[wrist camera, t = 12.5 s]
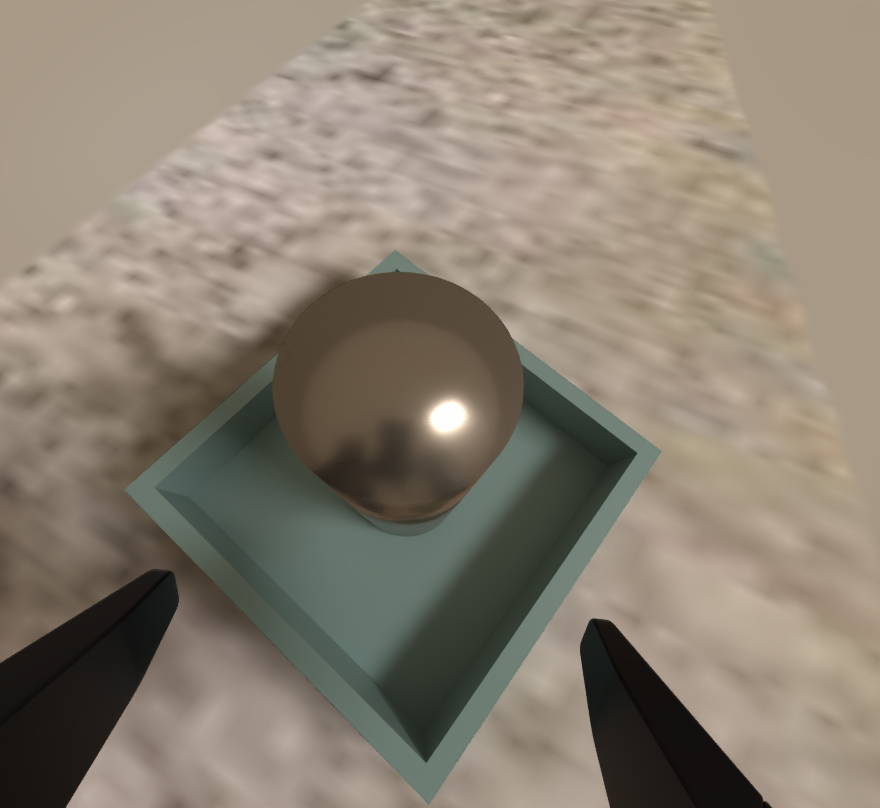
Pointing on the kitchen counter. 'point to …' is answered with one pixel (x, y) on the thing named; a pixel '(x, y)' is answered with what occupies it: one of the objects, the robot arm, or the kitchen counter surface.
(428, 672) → the tray
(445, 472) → the canister
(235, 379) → the kitchen counter surface
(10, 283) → the kitchen counter surface
